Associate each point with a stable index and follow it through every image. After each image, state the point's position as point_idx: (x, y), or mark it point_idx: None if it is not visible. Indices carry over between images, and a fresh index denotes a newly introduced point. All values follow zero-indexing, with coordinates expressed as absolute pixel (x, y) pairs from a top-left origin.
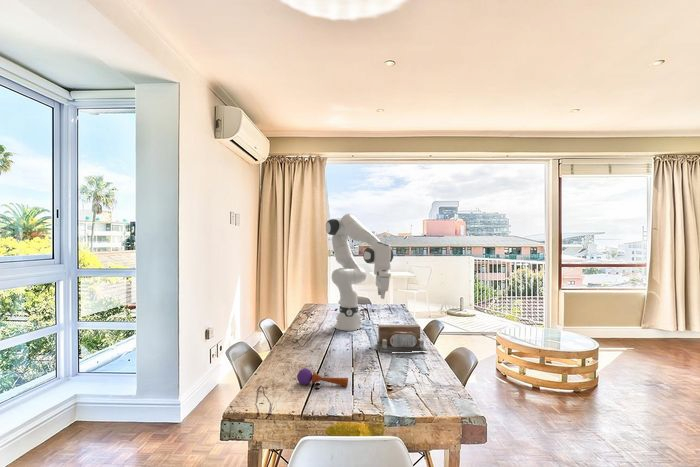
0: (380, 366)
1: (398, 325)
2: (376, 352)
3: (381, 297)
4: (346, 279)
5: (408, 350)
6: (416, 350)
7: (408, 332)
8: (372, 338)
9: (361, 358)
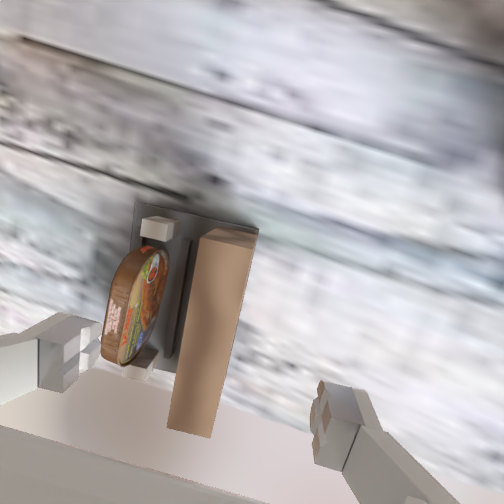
0: (16, 146)
1: (215, 347)
2: (159, 187)
3: (50, 320)
4: None
5: None
6: None
7: (111, 341)
8: (345, 240)
9: (101, 102)
